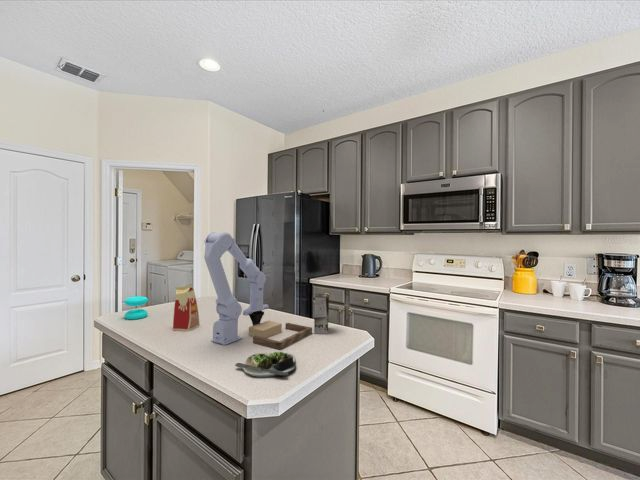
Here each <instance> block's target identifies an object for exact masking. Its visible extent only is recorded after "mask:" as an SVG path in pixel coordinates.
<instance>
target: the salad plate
mask: <svg viewBox="0 0 640 480" xmlns="http://www.w3.org/2000/svg"><path fill="white" fill-rule="evenodd" d="M274 364H275V365H274ZM235 367H237V368H239V369H242V370H243V371H244V372H245V374H248V375H250V376H253V377H258V378H262V377H263V378H265V377H267V378H270V377H271V378H273V377H274V378H276V376H281V377H285V375H286V376H288V374H289V375H291V374H292V373H294V372H295V370H296V367H297V366H296V356H295V355H294V354H292V353H289V352H284V351H277V352H276V351H275V352H262V353H261V352H259V353H258V352H257V353H254V354H251V355H249V356H248V357H247V358H246V360H245V363H242V362H237V363H235ZM290 373H291V374H290Z"/></svg>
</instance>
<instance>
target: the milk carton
mask: <svg viewBox="0 0 640 480" xmlns="http://www.w3.org/2000/svg"><path fill="white" fill-rule="evenodd" d="M175 289H176V291H175V298H174V307H173V320H172V331H180V332H182V331H183V332H190V331H192V330H194V329H196V328H197V327H199V326H201V325H200V315H199V308H198V303H197V301H198V300H197V298H196V293H195V289H194V288H193V287H192V284H189V285H184V286H177V287H175Z"/></svg>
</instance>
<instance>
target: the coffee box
mask: <svg viewBox="0 0 640 480" xmlns="http://www.w3.org/2000/svg"><path fill="white" fill-rule="evenodd" d="M329 305H330V297H329V293H315V294H314V309H313V310H314V312H313V313H314V315H313V318H314V319H313V320H314V321H313V326H314V327H313V334H318V335H319V334H320V335H321V334H322V335H323V334H324V335H328V334H329V316H330V315H329V311H330V309H329V307H330V306H329Z"/></svg>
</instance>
